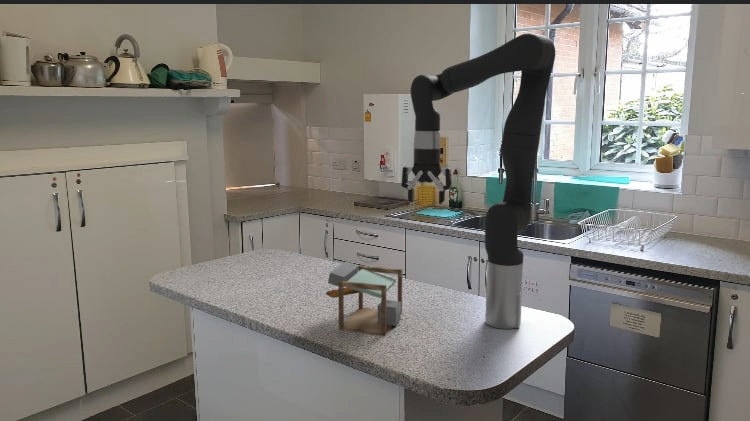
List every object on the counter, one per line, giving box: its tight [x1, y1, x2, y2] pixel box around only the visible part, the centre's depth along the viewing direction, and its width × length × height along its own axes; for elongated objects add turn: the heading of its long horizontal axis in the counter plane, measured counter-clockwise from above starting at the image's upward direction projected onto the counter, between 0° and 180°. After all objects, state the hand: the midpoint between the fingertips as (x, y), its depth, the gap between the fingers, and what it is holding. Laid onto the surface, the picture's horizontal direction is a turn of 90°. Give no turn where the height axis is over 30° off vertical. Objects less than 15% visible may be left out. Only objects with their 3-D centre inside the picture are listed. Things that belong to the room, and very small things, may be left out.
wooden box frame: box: [337, 265, 403, 336], centre depth 156 cm, size 13×17×13 cm
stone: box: [377, 299, 402, 327], centre depth 156 cm, size 5×5×5 cm
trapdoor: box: [327, 260, 397, 299], centre depth 156 cm, size 15×14×3 cm
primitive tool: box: [325, 287, 359, 298], centre depth 184 cm, size 19×6×4 cm, turn 122°
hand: (426, 203), depth 168 cm, fingers open, 8 cm apart
